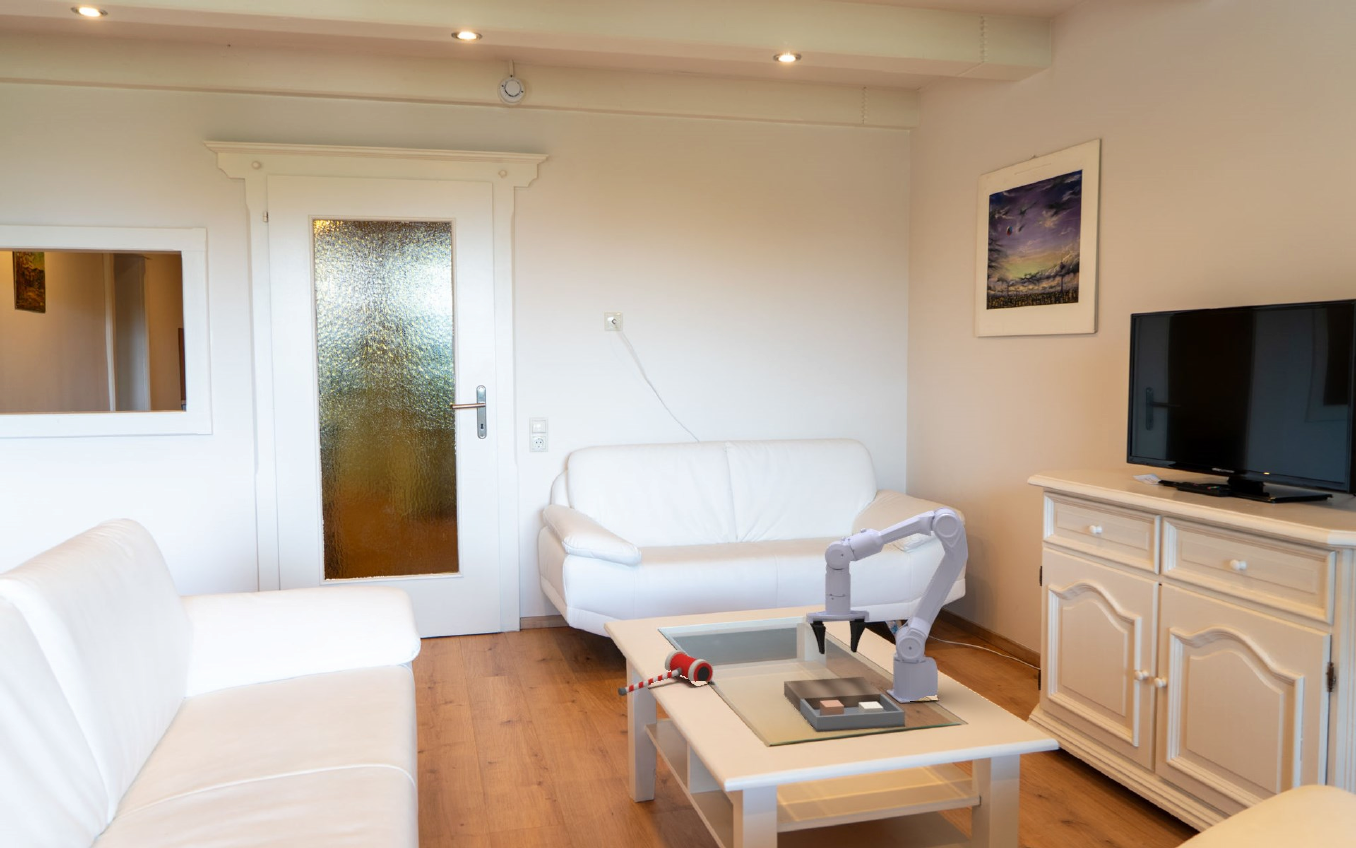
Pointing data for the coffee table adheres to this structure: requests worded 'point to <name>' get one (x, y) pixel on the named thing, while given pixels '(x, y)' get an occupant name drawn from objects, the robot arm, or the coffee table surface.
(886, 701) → the box
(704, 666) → the toy hammer
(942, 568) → the robot arm
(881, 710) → the tile cream
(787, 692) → the dark wooden platform
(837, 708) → the terracotta pink block
